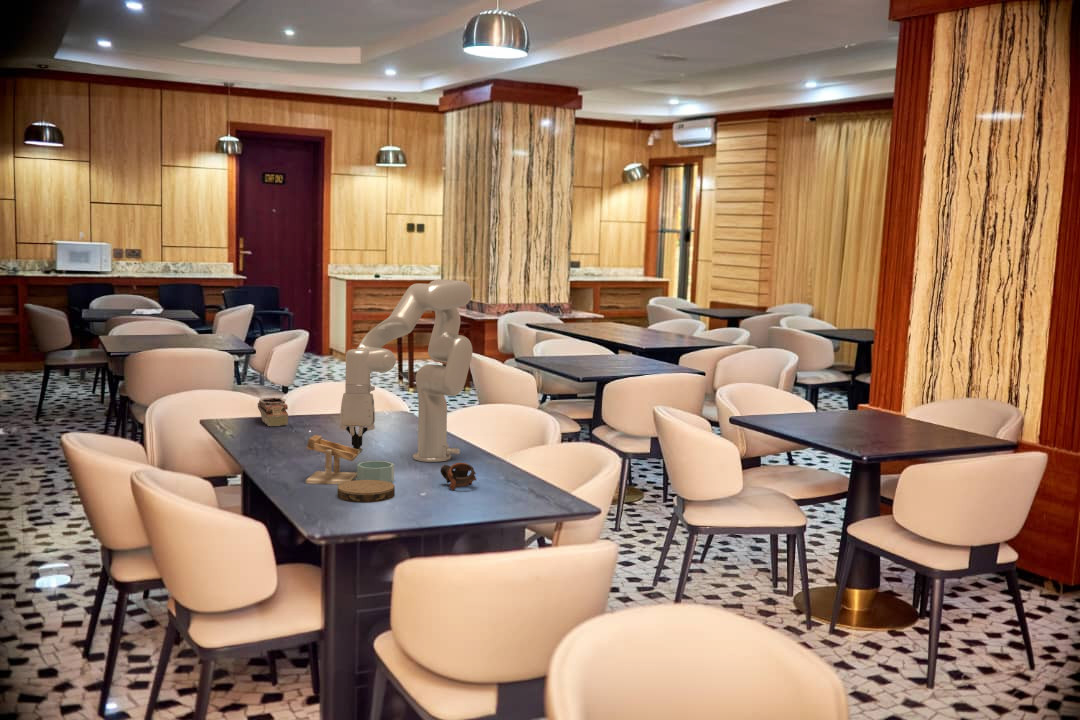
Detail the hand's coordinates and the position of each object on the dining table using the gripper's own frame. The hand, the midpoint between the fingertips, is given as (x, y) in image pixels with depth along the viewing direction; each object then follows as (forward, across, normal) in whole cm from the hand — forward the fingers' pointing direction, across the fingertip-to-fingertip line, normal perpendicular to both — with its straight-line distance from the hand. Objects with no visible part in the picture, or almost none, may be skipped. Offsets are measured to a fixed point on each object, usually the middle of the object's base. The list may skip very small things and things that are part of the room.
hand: (356, 448), depth 311 cm
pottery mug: (+8, -33, +13) cm, 37 cm away
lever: (0, +5, +6) cm, 8 cm away
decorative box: (+8, +53, -82) cm, 98 cm away
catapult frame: (+8, +5, +10) cm, 14 cm away
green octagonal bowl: (+8, -8, +10) cm, 15 cm away
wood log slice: (+9, -9, +28) cm, 30 cm away
